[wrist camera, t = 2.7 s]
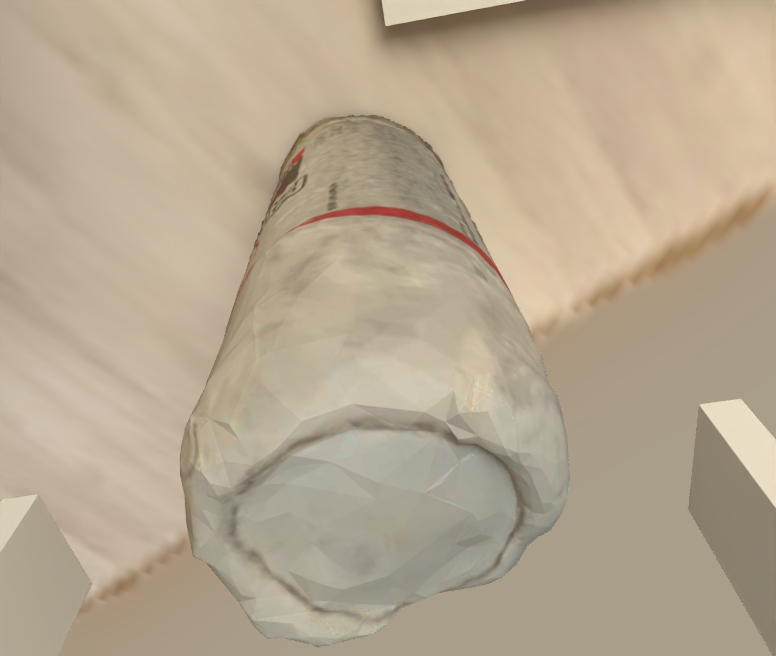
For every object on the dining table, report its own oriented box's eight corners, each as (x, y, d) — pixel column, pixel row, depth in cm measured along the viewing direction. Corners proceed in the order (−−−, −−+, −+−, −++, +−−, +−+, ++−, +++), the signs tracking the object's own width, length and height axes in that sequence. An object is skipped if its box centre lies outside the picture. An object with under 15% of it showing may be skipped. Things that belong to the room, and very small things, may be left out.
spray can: (361, 60, 25) (333, 258, 8) (496, 193, 28) (692, 549, 11) (237, 207, 28) (23, 584, 11) (372, 314, 31) (369, 745, 14)
